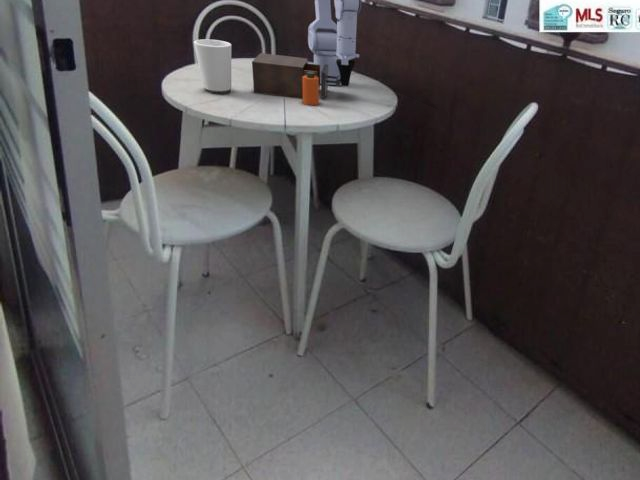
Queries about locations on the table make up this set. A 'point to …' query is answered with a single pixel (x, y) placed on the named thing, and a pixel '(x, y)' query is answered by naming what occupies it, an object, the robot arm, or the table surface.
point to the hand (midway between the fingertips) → (345, 85)
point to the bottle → (310, 89)
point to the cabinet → (278, 75)
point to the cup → (214, 64)
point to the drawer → (324, 76)
